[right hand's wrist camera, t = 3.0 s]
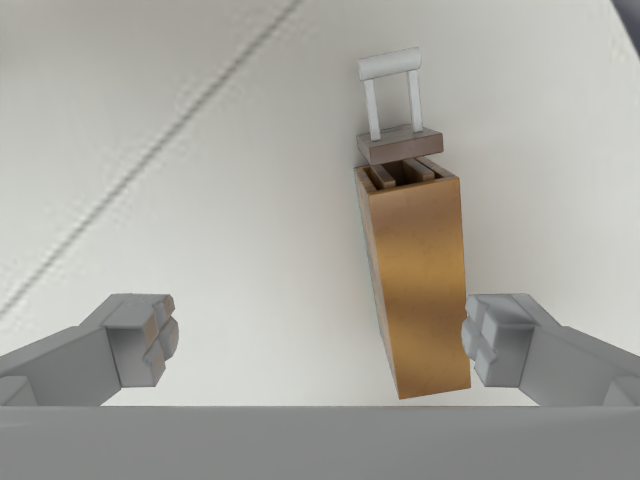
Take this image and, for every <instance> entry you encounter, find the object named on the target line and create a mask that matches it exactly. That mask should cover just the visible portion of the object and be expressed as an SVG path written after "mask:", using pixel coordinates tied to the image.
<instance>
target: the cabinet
mask: <svg viewBox="0 0 640 480" xmlns="http://www.w3.org/2000/svg"><path fill="white" fill-rule="evenodd" d="M413 159H415V160H416V161H417V162H419V163H420V164H422V165H423V166H425V167H426V168H428V169H429V170H431V171H432V172H434V174H435V180H430V181H425V182H420V183H414V184H409V185H404V186H399V187H394V188H389V189H384V190H379V191H377V190H376V188H375V187H374V185H373V184H372V181H371V174H370V167H369V165H367V166H362V167H357V168H353V169H354V175H355V181H356V187H357V193H358V199H359V205H360V211H361V218H362V224H363V230H364V236H365V242H366V248H367V254H368V260H369V266H370V273H371V279H372V285H373V291H374V297H375V303H376V309H377V315H378V321H379V327H380V333H381V337H382V340H383V343H384V347H385V351H386V354H387V358H388V361H389V365H390V368H391V372H392V376H393V379H394V383H395V386H396V390H397V393H398V397H399V399H406V398H413V397H419V396H425V395H431V394H437V393H443V392H449V391H456V390H462V389H468V388H471V379H470V361H469V357H468V356H467V354H466V352H465V351H464V348H463V344H462V337H461V330H462V323H463V321H464V320H465V319H466V318H467V311H466V309H465V305H466V289H465V272H464V254H463V236H462V218H461V200H460V182H459V177H457V176H455V175H454V174H452V173H450V172H449V171H447V170H445V169H443V168H442V167H440V166H438V165H437V164H435V163H433V162H432V161H430V160H428V159H427V158H425V157H423V156H420V157H416V158H413Z"/></svg>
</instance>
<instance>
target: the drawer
mask: <svg viewBox="0 0 640 480" xmlns="http://www.w3.org/2000/svg"><path fill="white" fill-rule="evenodd" d="M420 66H421V53H420V49H419V48H418V47H414V48H409V49H404V50H400V51H395V52H391V53H386V54H381V55H377V56H372V57H368V58H363V59H358V61H357V67H358V74H359V78H360V81H363V83H364V90H365V97H366V104H367V112H368V119H369V126H370V133H365V134H360V135H357V142H358V149H359V150H360V152H361V153H362V154H363V155H364V157H365V158H366V159H367V160H368V162H369V163H370V164H369V167H370V174H371V181H372V184H373V185H374V187H375V188H376V190H377V191H379V190H384V189H389V188H394V187H399V186H404V185H409V184H414V183H420V182H425V181H430V180H435V174H434V172H432V171H431V170H429V169H428V168H426V167H425V166H423V165H422V164H420V163H419V162H417V161H416V160H415V159H413V158H416V157H420V156H425V155H430V154H435V153H440V152H443V136H442V133H439V132H436V131H433V130H430V129H427V128H424V127H423V126H422V115H421V104H420V93H419V82H418V70H417V69H419V68H420ZM406 71H407V81H408V91H409V101H410V111H411V121H412V124H409V125H404V126H399V127H394V128H389V129H385V130H380V127H379V120H378V112H377V104H376V97H375V89H374V82H373V78H378V77H383V76H387V75H392V74H397V73H401V72H406Z"/></svg>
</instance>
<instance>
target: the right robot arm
mask: <svg viewBox="0 0 640 480" xmlns="http://www.w3.org/2000/svg"><path fill="white" fill-rule="evenodd" d="M174 309H175V306H174V301H173V298H172V296H171V295H170V294H132V293H123V294H111V295H110V296H109V297H108V298H107V299H106V300H105V301H104V302H103V303H102V304H101V305H100V306H99V307H98V308H97V309H96V310H95V311H94V312H92V313H91V314H90V315H89V316H88V317H87V318H86V319H85V320H84V321H83V322H82V323H81V324H80V325H79V326H72V327H69V328H67V329H64V330H62V331H60V332H57V333H55V334H53V335H50V336H48V337H46V338H43V339H41V340H38V341H36V342H34V343H31V344H29V345H27V346H24V347H22V348H19V349H17V350H15V351H12V352H10V353H8V354H5V355H3V356H1V357H0V480H640V357H639V356H637V355H635V354H632V353H630V352H627V351H625V350H623V349H620V348H618V347H616V346H613V345H611V344H609V343H606V342H604V341H601V340H599V339H597V338H594V337H592V336H590V335H587V334H585V333H583V332H580V331H578V330H576V329H573V328H571V327H568V326H561V325H560V324H559V323H558V322H557V321H556V320H555V319H554V318H553V317H552V316H551V315H550V314H549V313H548V312H547V311H546V310H544V309H543V308H542V307H541V306H540V305H539V304H538V303H537V302H536V301H535V300H534V299H533V298H532V297H531V296H530V295H528V294H525V293H517V294H477V295H469V296H468V298H467V300H466V305H465V309H466V311H467V313H468V314H469V316H468V317H467V318H466V319H465V320H464V321H463V323H462V330H461V337H462V344H463V348H464V351H465V352H466V354H467V356H468V357H469V358H471V359H472V360H474V361H475V367H474V369H475V370H476V372H477V374H478V376H479V377H480V379H481V381H482V383H483V384H484V386H485V387H511V388H519V390H520V391H522V392H523V393H524V394H526V395H527V396H528V397H530V398H531V399H532V400H534V401H535V402H536V403H537V404H539V405H540V406H100V405H101V404H103V403H104V402H105V401H107V400H108V399H109V398H111V397H112V396H113V395H114V394H116V393H117V392H118V391H120V390H121V388H129V387H155V386H156V385H157V383H158V381H159V379H160V378H161V376H162V374H163V372H164V370H165V369H166V367H165V361H166V360H168V359H169V358H171V357H172V356H173V354H174V352H175V350H176V348H177V344H178V339H179V329H178V323H177V321H176V320H175V319H174V318H173V317H172V316H171V314H172V313H173V311H174Z"/></svg>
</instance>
